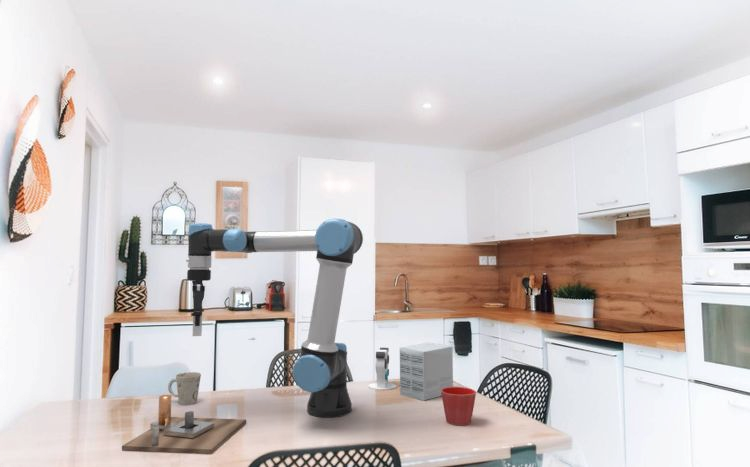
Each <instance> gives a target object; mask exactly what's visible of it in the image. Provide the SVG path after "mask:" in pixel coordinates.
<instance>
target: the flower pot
mask: <svg viewBox="0 0 750 467" xmlns="http://www.w3.org/2000/svg"><path fill="white" fill-rule="evenodd" d="M441 394H442V396H441V399H442V405H443V410H444V415H445V416H444V417H445V420H446V423H448V424H450V425H455V426H467V425H470V424H471V423H472V418H473V412H474V407H475V403H476V402H475V400H476V395H477V392H476V390H474V389H472V388H468V387H462V386H453V387H447V388H443V389H442V390H441Z"/></svg>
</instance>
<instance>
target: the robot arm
mask: <svg viewBox="0 0 750 467" xmlns="http://www.w3.org/2000/svg"><path fill="white" fill-rule="evenodd" d="M188 229H189V230H188V236H187V238H188V247H187V248H188V251H187V252H188V253H187V258H186V259H185V262H186V263H187V268H189V269H188V270H187V272H186V274H187V275H186V276H187V277H186V280H187V281H193V282H194V283H195V284H194V285H192V298H193V311H192V312H191V313H190V316H191V317H192V337H202V330H203V329H202V328H203V312H205V308H203V299H204V298H205V297H204V296H205V291H206V285H204V284H203V281H204V282H205V281H210V280H211V278H212V275H211V274H212V270H211V268H212V253H213V252H224V253H225V252H229V253H245V254H252V253H278V252H279V253H281V252H282V253H285V252H289V253H290V252H316V256H315V259H316V261H317V262H318V263H319V269H318V275H317V279H316V280H317V281H316V286H315V291H314V296H313V297H314V298H313V302H312V303H313V304H312V308H311V309H312V310H311V317H310V323H309V326H308V327H309V329H308V334H307V338H306V340H305V341H303V342H302V343H301V348H300V353H299V357H298V358H297V359H296V361H295V363H294V364H293V368H292V377H293V381H294V382H295V383H296V385H297V386H298V388H300V389H301V390H303V391H305V392H308V393H310V395H309V398H308V402H307V405H306V412H307V414H309V415H311V416H314V417H318V418H336V417H338V418H339V417H342V416H346V415H348V414H350V413H351V412H352V410H353V407H352V405H353V403H352V400H351V397H350V394H349V391H348V388H347V382H348V381H347V379H348V376H347V373H348V371H347V370H348V366H347V364H348V362H347V360H348V359H347V358H348V350H347V349H348V348H347V345H346V344H345V343H343V342H335V341H336V335H337V329H338V323H339V317H340V311H341V306H342V298H343V293H344V292H343V291H344V286H345V280H346V275H347V269H348V268H350V267H351V266H352V265H353V260H354V254H357V252H358V251H360V249H361V247H362V246H363V241H364V238H363V233H362V230H361V229H360V227H359V226H358V225H356V224H355V223H354V222H351V221H348V220H346V219H343V218H330V219H326V220H324V221H323V222H322V223H320V224H319V226H318V227H317V228H316V229H296V230H267V231H265V230H264V231H244V230H242V229H240V228H239V229H238V228H228V229H227V228H224V229H221V228H220V229H219V228H218V229H215V228H213V225H212V224H211V223H205V222H204V223H202V222H201V223H199V222H195V223H190V225H189V228H188Z"/></svg>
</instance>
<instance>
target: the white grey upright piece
mask: <svg viewBox="0 0 750 467" xmlns="http://www.w3.org/2000/svg"><path fill="white" fill-rule="evenodd" d="M389 350H390V348H389V347H379V349H378V350H376V352H375V373H376V382H372V383H369V384H368V388H369V389H372V390H375V391H376V390H377V391H390V390H394V389H395V388H397V385H396V384H395V383H392V382H389V375H390V369H389V364H390V354H389Z"/></svg>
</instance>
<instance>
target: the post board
mask: <svg viewBox="0 0 750 467" xmlns="http://www.w3.org/2000/svg"><path fill="white" fill-rule="evenodd" d="M194 415H195V412H194V411H190V410H189V411H186V412H184V417H183V416H182V417H181V416H180V417H179V416H177V417H176V416H175V417H174V416H171V423H180V422H182V421H184V420H185V429H192V428H194V421H204V422H214V427H213V428H211V429H209V430H207V431H205V432H203V433H202V434H200V435H198V436H196V437H194V438H188V437H179V436H170V435H163V430H164V429H159V427H153V428H150V429H148V430H146V431H145V432H143V433H141V434H139V435H137V436H135V437H134V438H133V439H131V440H130V441H127V442H126V443H124V444H123V445H121V451H124V452H125V451H126V452H128V451H129V452H151V453H175V454H176V453H177V454H179V453H180V454H195V455H196V454H200V455H212V454H213V453H214V452H216V451H217V450H218V449H219V448H220V447H221V446H223V445H224V444H225V442H227V441H228V440H230V439H231V437H232V436H234V435H235V434H236V433H237V432H239V431H240V429H242V428H243V427H244V426H245V425H246V424H247V419H244V418H243V419H241V418H239V419H238V418H210V417H195V416H194Z"/></svg>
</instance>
